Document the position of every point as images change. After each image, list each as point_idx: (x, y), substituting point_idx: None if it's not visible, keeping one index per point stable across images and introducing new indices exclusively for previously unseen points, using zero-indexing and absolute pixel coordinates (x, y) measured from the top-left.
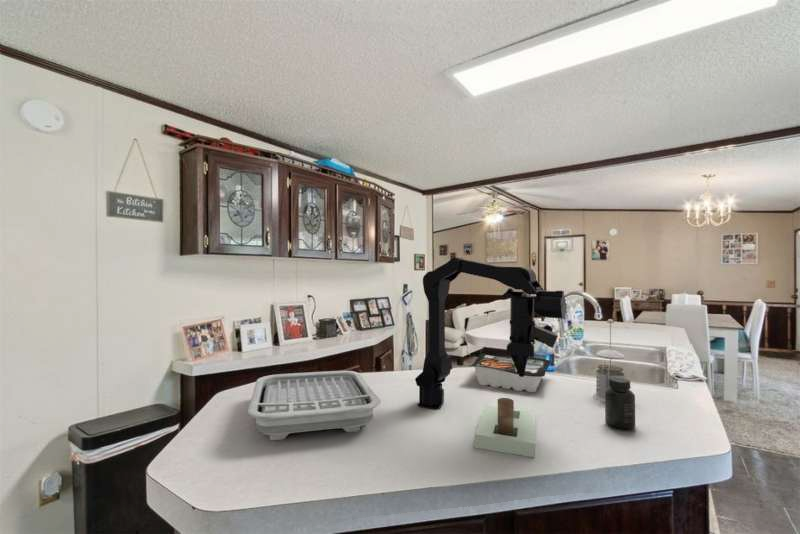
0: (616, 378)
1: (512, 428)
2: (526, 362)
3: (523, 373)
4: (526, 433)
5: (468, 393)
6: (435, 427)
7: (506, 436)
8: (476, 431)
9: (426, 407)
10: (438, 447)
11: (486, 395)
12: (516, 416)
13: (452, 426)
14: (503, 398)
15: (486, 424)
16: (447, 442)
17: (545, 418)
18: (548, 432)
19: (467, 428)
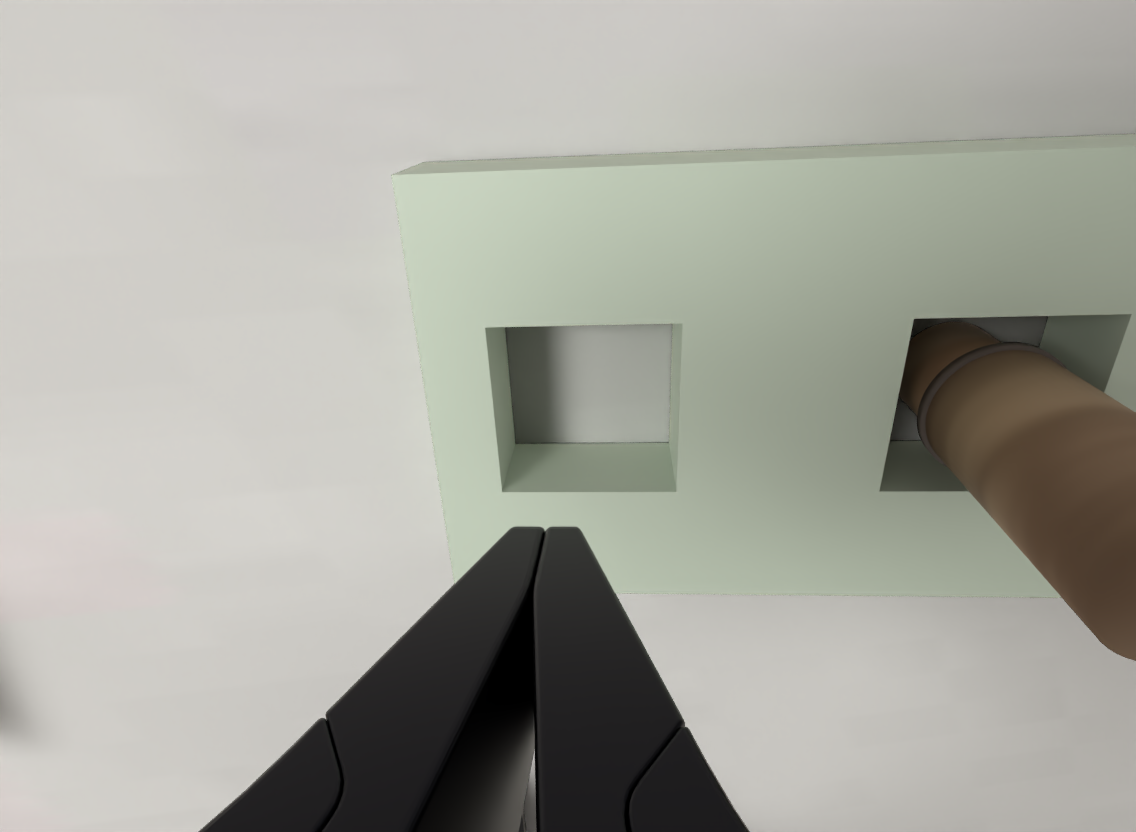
0: None
1: (1068, 370)
2: (739, 830)
3: (598, 577)
4: (1039, 235)
5: (116, 676)
6: (788, 744)
7: (1124, 393)
8: (1044, 592)
9: (524, 823)
10: (1061, 693)
11: (63, 574)
12: (495, 341)
13: (744, 677)
14: (1115, 614)
15: (889, 548)
16: (986, 667)
17: (271, 71)
18: (611, 28)
19: (747, 606)
